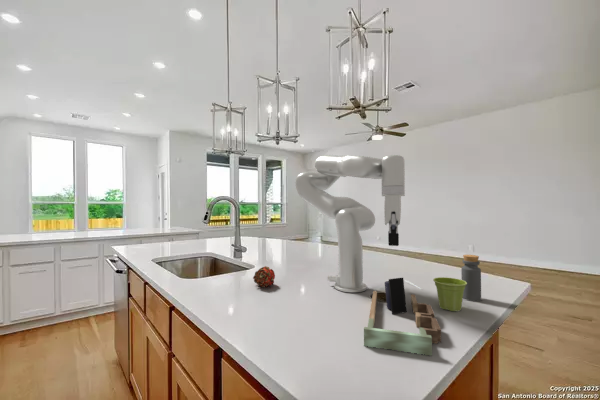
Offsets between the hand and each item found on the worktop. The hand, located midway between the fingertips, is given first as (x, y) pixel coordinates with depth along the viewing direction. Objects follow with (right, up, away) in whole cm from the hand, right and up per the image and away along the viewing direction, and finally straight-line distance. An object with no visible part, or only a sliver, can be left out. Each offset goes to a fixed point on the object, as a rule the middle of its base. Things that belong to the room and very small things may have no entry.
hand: (393, 243), depth 96 cm
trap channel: (-4, -19, -17) cm, 26 cm away
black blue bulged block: (-2, -20, -7) cm, 21 cm away
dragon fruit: (-47, -20, +18) cm, 54 cm away
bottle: (+28, -20, +2) cm, 34 cm away
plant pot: (+16, -20, -7) cm, 26 cm away
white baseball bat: (+16, -20, +12) cm, 28 cm away
